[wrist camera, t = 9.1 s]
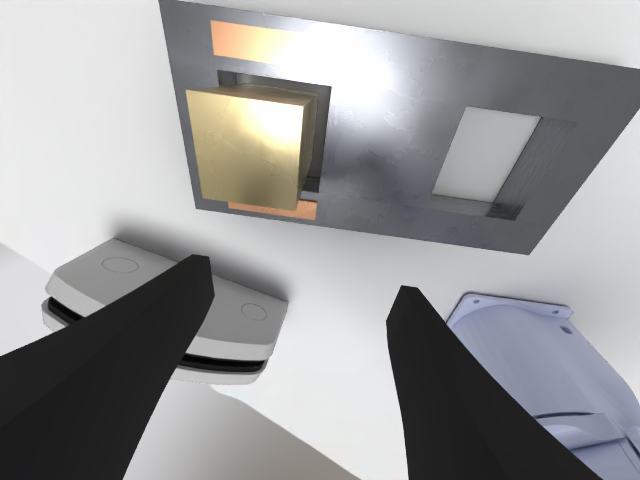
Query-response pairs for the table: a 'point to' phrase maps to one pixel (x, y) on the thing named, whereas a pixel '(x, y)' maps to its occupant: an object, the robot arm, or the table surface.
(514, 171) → the rail plate
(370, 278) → the table surface
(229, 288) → the grey rounded block
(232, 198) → the brass peg
